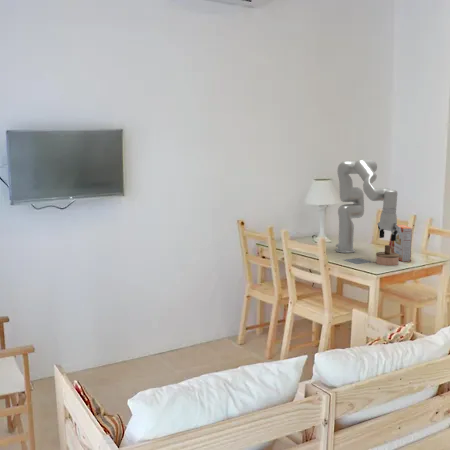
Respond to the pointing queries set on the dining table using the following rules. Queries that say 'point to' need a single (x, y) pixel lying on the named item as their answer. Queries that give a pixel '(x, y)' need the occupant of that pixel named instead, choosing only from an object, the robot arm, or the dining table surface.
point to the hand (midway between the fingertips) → (387, 239)
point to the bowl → (387, 261)
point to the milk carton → (391, 245)
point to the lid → (387, 253)
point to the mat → (357, 261)
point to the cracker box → (403, 243)
